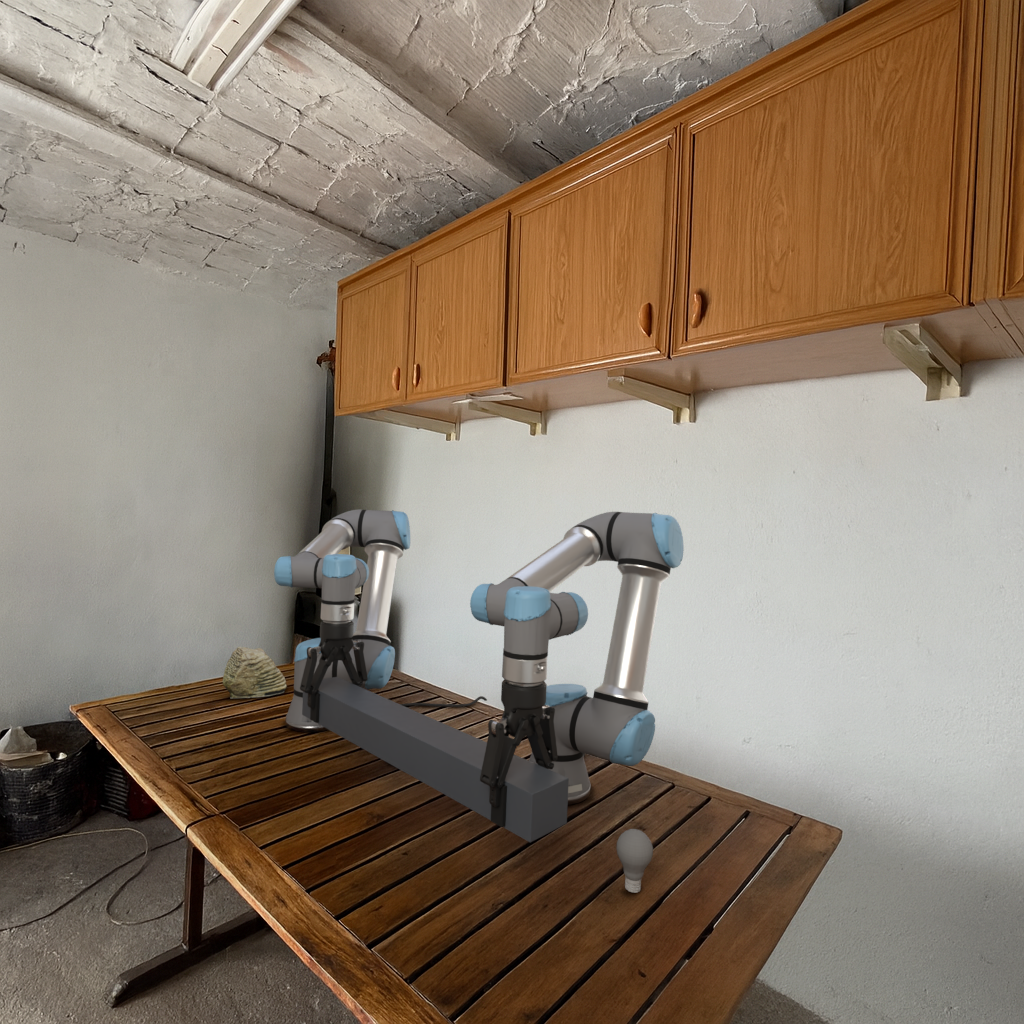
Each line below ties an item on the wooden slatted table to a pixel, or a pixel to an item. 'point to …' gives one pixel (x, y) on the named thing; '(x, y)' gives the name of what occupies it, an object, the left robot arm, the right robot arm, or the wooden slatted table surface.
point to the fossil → (252, 674)
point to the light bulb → (634, 857)
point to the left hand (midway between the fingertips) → (333, 716)
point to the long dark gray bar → (442, 757)
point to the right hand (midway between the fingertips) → (518, 813)
